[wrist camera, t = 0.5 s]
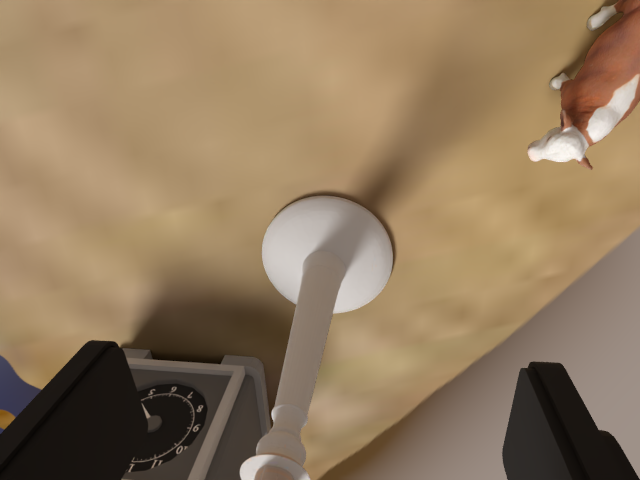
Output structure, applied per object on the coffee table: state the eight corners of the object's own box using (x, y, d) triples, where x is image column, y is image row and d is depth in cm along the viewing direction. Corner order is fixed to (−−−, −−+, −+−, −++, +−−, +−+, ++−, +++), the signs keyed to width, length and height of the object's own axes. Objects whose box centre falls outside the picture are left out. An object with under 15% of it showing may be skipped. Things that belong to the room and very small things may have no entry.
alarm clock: (262, 357, 48) (202, 524, 32) (272, 434, 54) (225, 609, 38) (115, 347, 50) (-11, 498, 34) (139, 422, 56) (42, 581, 40)
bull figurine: (496, 133, 34) (528, 161, 26) (630, -44, 28) (719, -70, 20) (539, 159, 34) (583, 194, 27) (681, -8, 28) (785, -21, 21)
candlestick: (316, 328, 45) (225, 758, 18) (237, 241, 41) (-19, 621, 15) (418, 271, 40) (494, 740, 14) (339, 168, 37) (234, 533, 10)
